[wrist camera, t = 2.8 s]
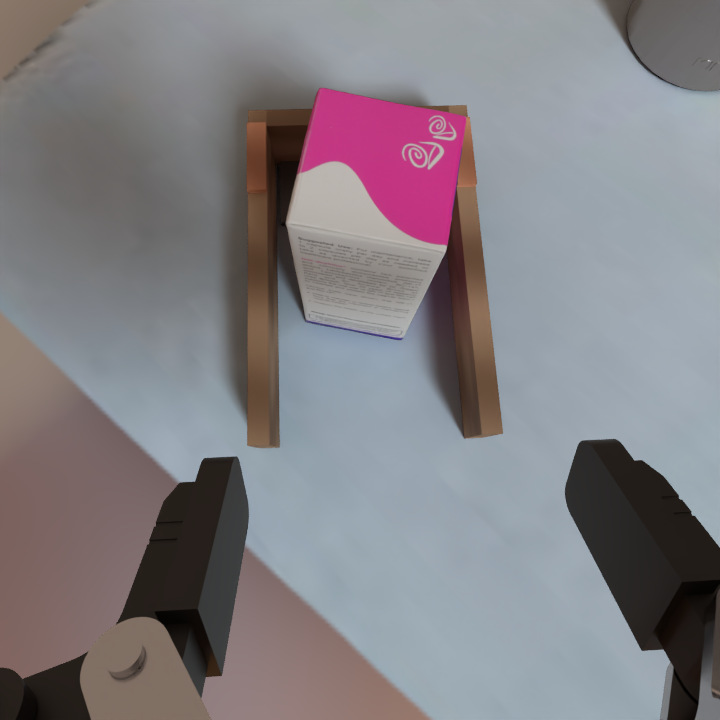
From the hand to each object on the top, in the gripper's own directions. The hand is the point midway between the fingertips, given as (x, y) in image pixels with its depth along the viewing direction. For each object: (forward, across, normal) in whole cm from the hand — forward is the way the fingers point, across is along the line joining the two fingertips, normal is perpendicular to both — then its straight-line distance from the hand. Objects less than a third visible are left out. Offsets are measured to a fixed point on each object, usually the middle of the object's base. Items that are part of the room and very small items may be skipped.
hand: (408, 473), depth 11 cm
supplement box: (+18, 0, +3) cm, 18 cm away
